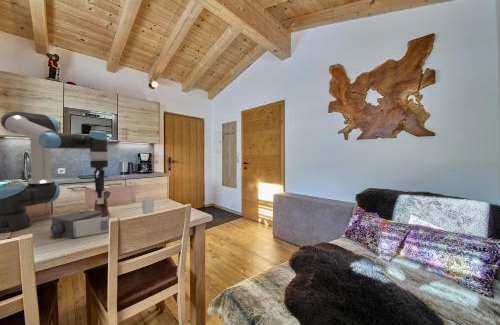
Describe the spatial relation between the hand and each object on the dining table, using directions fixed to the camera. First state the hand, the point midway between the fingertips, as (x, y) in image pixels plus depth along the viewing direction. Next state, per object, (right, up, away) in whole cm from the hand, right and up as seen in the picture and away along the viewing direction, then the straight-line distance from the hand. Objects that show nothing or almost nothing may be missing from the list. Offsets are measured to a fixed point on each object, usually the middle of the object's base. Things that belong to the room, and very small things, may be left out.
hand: (100, 203), depth 110 cm
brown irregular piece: (-17, -14, +25) cm, 33 cm away
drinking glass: (+17, -15, +18) cm, 29 cm away
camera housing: (-13, -15, 0) cm, 20 cm away
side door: (-1, -15, -4) cm, 16 cm away
